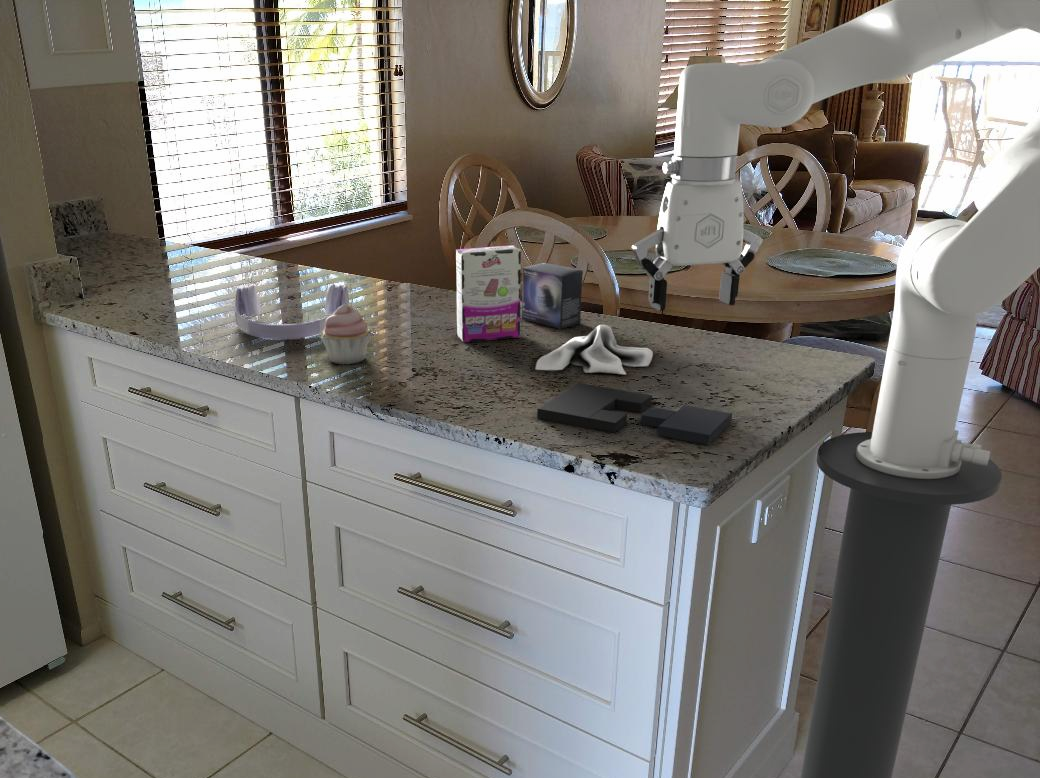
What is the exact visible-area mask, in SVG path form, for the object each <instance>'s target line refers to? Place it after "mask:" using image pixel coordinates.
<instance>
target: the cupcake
mask: <svg viewBox="0 0 1040 778" xmlns="http://www.w3.org/2000/svg"><path fill="white" fill-rule="evenodd" d="M367 324H368V323H367V322H366V321H365V319H364V318H363V317H362V315H361V313H360V312H359V310H358V309H356V308H354V307H353V306H352V305H347V304H344V305H342V306H340V307H339V308H338V309H337V310H336V311H335V313H334V315H332V316H330V317H328V318H327V319H326V322H325V330H323V332H322V333H319V334H318V336H319V338H320V339H321V341H322V342H323V346H324V348H325V352H326V354H327V357H328V360H329V362H331V363H333V364H337V365H353V364H357V363H361V362H363V361H364V360H365V359H366V356H367V355H366V354H367V349H368V345H369V342H370V340H371V338H372V336H373V334H374V331H371V329H370V328H368V325H367Z"/></svg>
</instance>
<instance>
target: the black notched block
mask: <svg viewBox="0 0 1040 778" xmlns="http://www.w3.org/2000/svg"><path fill="white" fill-rule="evenodd" d="M652 404H653V395H652V394H647V393H641V392H637V391H636V392H635V391H629V390H623V389H619V388H618V389H617V388H612V387H606V386H599V385H596V384H595V385H594V384H589V383H584V382H583V383H582V382H577V383H575V384H574V385H573V386H571V387H569V388H568V389H566V390H565V391H563V392H561V393H560V394H558V395H556V396H555V397H554V398H552V399H550V400H548V401H547V402H546V403H543V404H542V405H540V406H539V407H538V408H537V411H536V418H537V419H540V420H545V421H550V422H554V423H555V422H556V423H560V424H567V425H571V426H577V427H582V428H586V429H594V430H598V431H604V432H608V433H613V434H615V433H617V431H619V430H620V429H621V428H623V427H625V426H626V425H627V424H628V413H625V412H619V411H613V410H624V411H628V412H632V413H633V412H634V413H639V414H641V413H642V412H645V410H646V409H647V408H650V406H651V405H652Z"/></svg>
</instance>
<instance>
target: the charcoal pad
mask: <svg viewBox="0 0 1040 778" xmlns="http://www.w3.org/2000/svg"><path fill="white" fill-rule="evenodd" d="M732 419H733V413H732V412H726V411H721V410H714V409H708V408H702V407H697V406H691V405H686V404H685V405H682V406H681V407H680V408H679V409H678V410H673V409H666V408H662V407H655V406H651V407H649V408H648V409H647V410H646V411H643V413H642V414H641V416H640V425H641V426H647V427H652V428H657V429H658V431H657V432H658V433H657V436H659V437H663V438H668V439H673V440H679V441H684V442H688V443H689V442H690V443H693V444H699V445H700V444H701V445H705V446H709V445H710V444H711V443H712V442H713V441H715V439H716V438H717V437H718V436H720V435H721V434H722V432H724V430H726V429H727V428H728V427H729V426H730V425H731V424H732Z"/></svg>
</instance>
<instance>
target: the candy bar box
mask: <svg viewBox="0 0 1040 778" xmlns="http://www.w3.org/2000/svg"><path fill="white" fill-rule="evenodd" d="M455 252H456V253H455V262H456V263H455V264H456V265H455V266H456V335H457V337H458V339H459V340H460V341H461V342H462V343H471V342H473V343H474V342H484V341H495V340H506V339H507V340H508V339H509V340H510V339H518V338H521V281H522V280H521V279H522V277H521V276H522V273H521V272H522V271H521V269H522V268H521V267H522V266H521V265H522V263H521V262H522V249H520V248H519V247H517V246H516V245H501V246H500V245H499V246H486V247H473V248H459V249H456V250H455Z"/></svg>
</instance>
